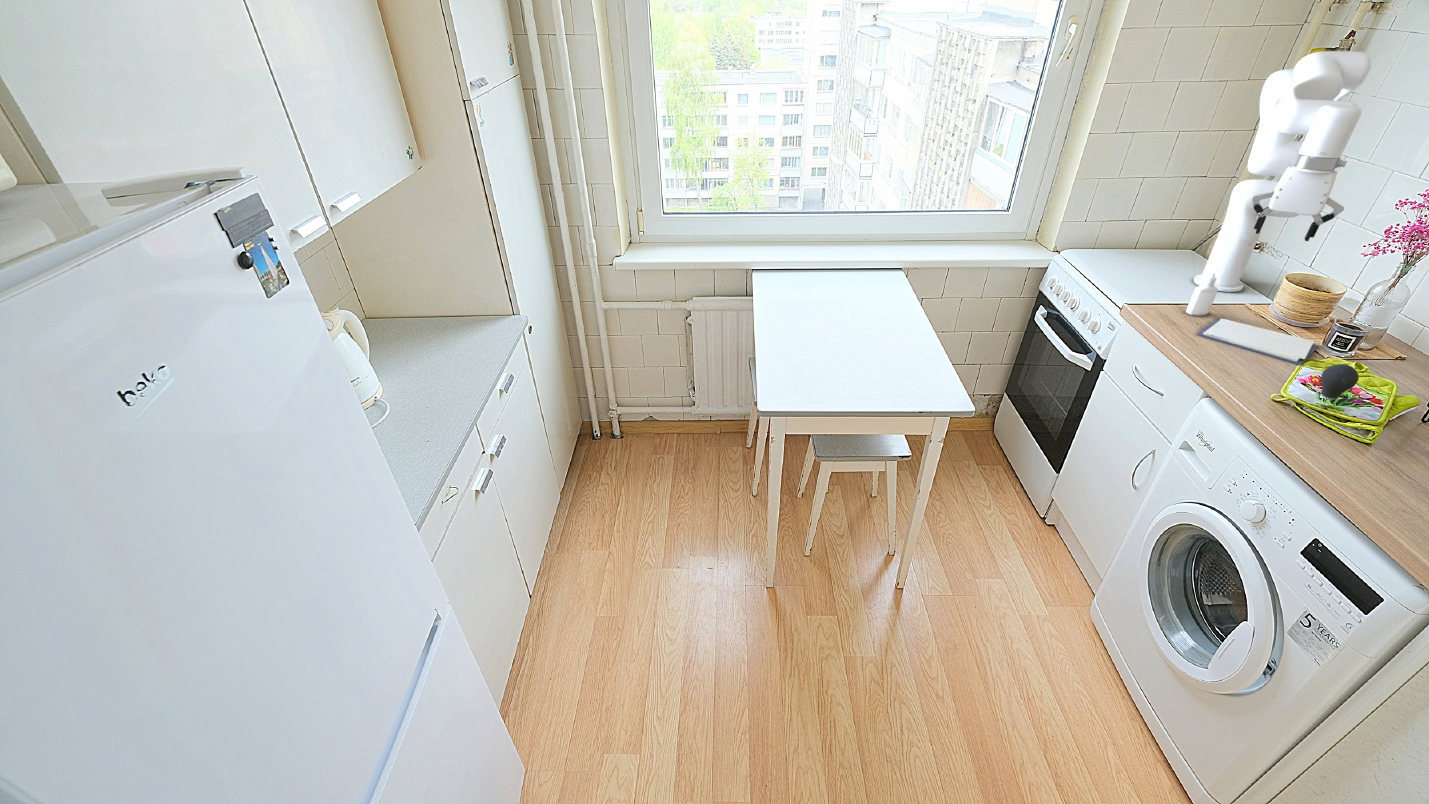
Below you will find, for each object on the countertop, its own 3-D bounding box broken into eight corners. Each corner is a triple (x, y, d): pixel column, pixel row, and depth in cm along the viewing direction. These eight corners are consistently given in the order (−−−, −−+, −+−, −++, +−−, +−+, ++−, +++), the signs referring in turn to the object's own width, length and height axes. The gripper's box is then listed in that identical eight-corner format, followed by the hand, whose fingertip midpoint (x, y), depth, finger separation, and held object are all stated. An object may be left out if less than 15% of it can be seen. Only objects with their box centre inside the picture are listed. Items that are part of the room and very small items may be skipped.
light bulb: (1299, 399, 140) (1322, 359, 135) (1325, 399, 140) (1349, 359, 134) (1319, 413, 135) (1343, 371, 130) (1346, 413, 135) (1371, 372, 130)
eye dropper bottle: (1210, 317, 177) (1228, 276, 171) (1186, 314, 179) (1203, 274, 173) (1206, 312, 181) (1223, 271, 174) (1183, 309, 182) (1199, 269, 176)
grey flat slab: (1218, 319, 176) (1219, 315, 176) (1318, 346, 162) (1320, 342, 161) (1197, 334, 168) (1198, 331, 167) (1300, 365, 153) (1302, 361, 153)
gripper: (1363, 165, 146) (1326, 239, 155) (1269, 156, 155) (1239, 226, 164) (1365, 171, 141) (1326, 246, 150) (1268, 161, 150) (1237, 233, 159)
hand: (1281, 236), depth 157 cm, fingers open, 9 cm apart
